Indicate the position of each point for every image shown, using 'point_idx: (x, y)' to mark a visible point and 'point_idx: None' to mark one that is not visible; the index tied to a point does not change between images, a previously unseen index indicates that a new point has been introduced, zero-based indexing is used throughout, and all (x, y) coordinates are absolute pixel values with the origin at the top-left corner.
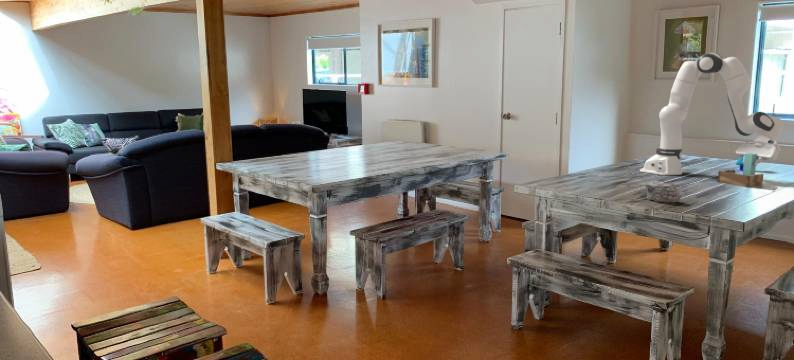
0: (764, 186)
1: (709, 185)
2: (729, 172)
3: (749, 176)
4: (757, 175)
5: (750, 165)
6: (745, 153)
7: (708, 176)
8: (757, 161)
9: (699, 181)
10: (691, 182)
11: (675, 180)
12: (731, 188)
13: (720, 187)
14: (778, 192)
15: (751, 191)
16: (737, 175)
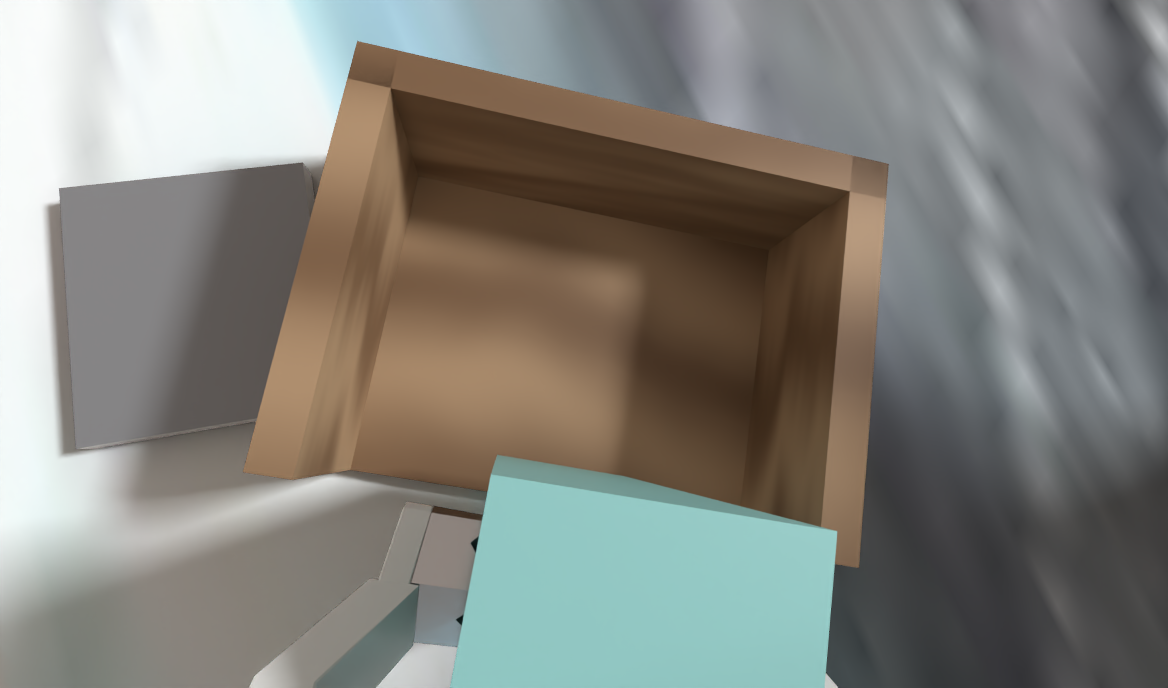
0: (243, 346)
1: (780, 57)
2: (812, 395)
3: (354, 60)
4: (297, 278)
5: (511, 463)
6: (817, 558)
7: (1116, 655)
8: (359, 599)
9: (972, 213)
10: (981, 90)
11: (1130, 81)
12: (542, 54)
13: (649, 27)
14: (15, 208)
15: (303, 35)
16: (559, 100)
